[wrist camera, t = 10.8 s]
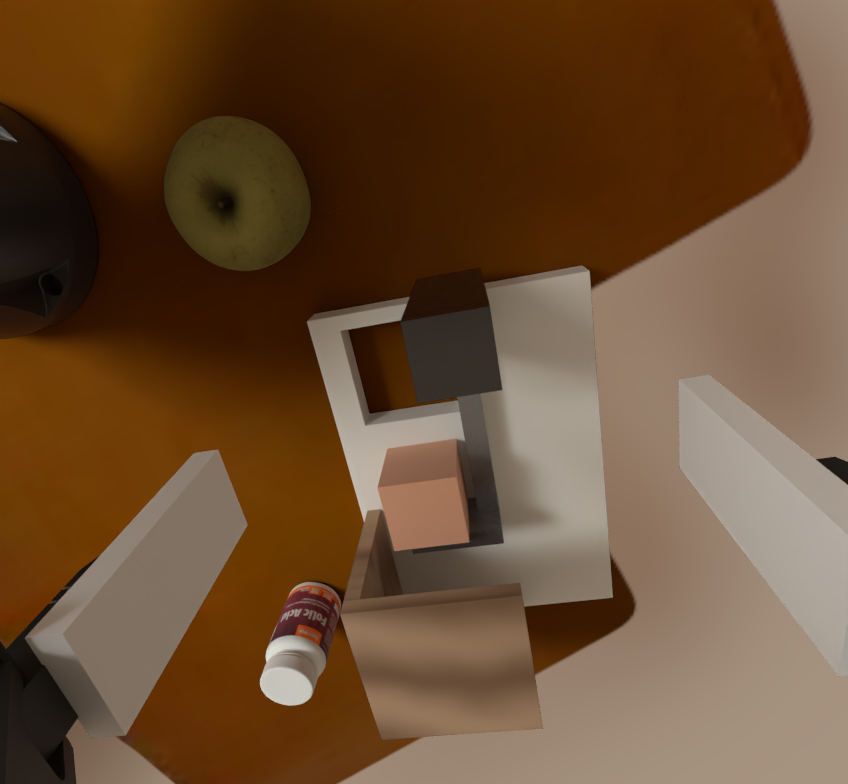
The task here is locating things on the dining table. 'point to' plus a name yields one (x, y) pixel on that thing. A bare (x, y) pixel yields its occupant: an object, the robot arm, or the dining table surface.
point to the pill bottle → (300, 643)
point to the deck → (499, 441)
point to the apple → (236, 193)
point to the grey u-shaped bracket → (458, 378)
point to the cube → (424, 495)
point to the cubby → (437, 650)
